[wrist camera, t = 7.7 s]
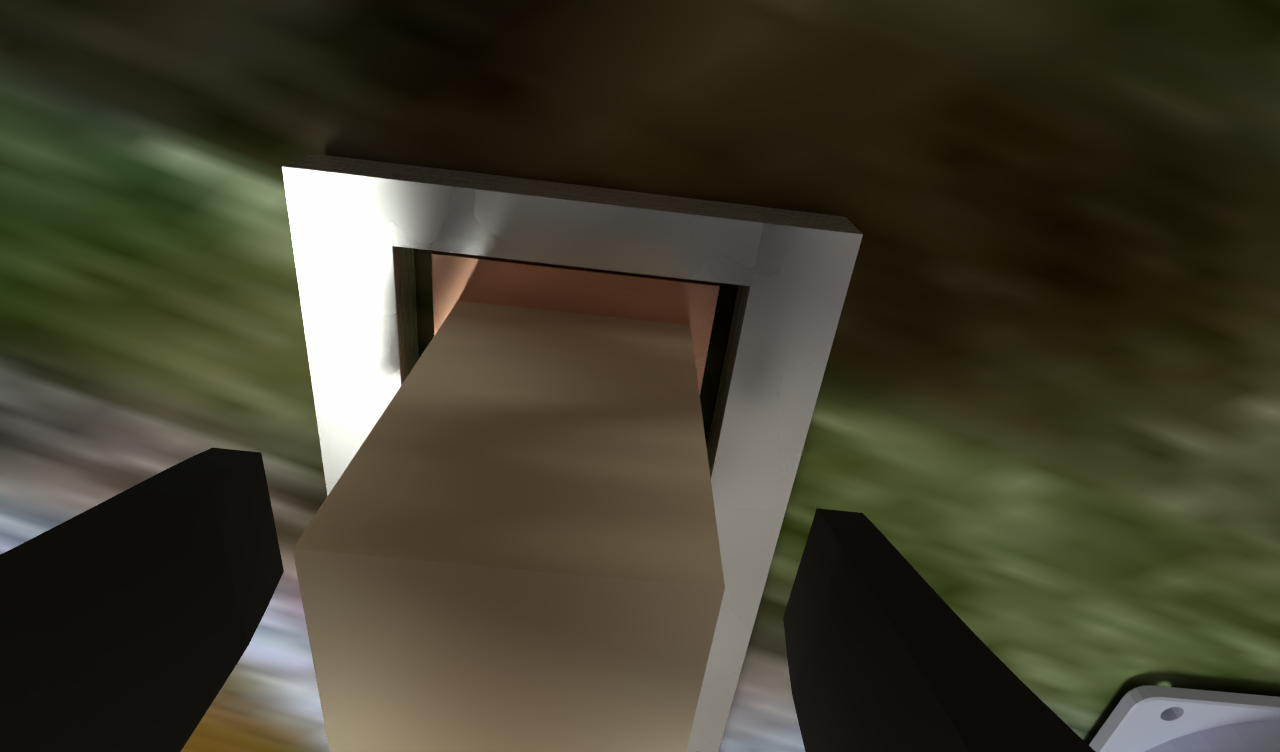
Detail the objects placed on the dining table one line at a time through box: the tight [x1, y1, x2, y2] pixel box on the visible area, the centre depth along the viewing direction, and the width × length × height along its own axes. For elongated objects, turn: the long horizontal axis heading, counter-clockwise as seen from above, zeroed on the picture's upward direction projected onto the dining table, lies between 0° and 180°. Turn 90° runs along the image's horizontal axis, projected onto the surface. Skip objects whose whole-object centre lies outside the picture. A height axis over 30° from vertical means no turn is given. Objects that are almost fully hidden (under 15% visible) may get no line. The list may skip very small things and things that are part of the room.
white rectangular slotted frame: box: [282, 154, 863, 752], centre depth 15 cm, size 8×20×1 cm, turn 173°
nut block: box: [293, 301, 725, 752], centre depth 10 cm, size 4×4×6 cm
